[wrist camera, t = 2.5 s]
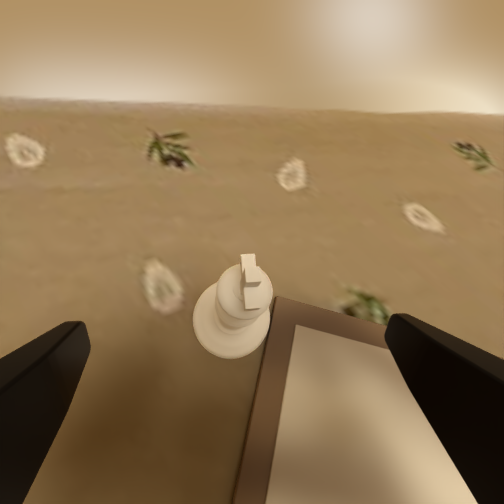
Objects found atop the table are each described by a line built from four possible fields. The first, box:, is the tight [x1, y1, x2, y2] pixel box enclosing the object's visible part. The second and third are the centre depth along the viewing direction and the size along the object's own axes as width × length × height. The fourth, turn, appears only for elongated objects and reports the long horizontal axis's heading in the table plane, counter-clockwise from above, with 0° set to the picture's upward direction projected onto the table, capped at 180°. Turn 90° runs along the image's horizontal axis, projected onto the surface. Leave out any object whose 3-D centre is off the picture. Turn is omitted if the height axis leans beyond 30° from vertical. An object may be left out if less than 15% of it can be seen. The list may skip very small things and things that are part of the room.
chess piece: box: [193, 254, 273, 359], centre depth 12 cm, size 5×5×10 cm
